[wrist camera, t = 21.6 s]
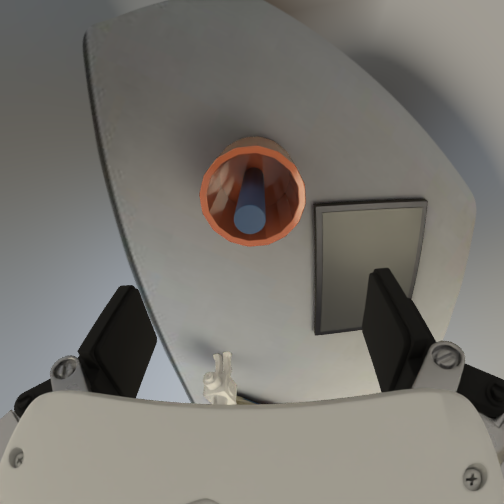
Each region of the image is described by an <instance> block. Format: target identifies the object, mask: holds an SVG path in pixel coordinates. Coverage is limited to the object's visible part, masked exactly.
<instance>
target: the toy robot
mask: <svg viewBox="0 0 504 504" xmlns="http://www.w3.org/2000/svg"><path fill="white" fill-rule="evenodd" d="M231 356H232V354H231V353H230V352H223V359H222V356H221V355H220V354H214V355H213V358H214V360H215V361H216V363H215V364H216V369H215V372H208V373H206V374H205V375H204V378H203V383H204V384H205V387H204V392H203V396H204V397H205V398H206V399H207V400H208V401H209V402H210V403H211V404H218V405H236V404H237V403H236V394H237V384H236V383H235V382H234V381H233V380H232V378H231V377H230V376H231V372H232V367H231ZM223 367H224V371H223Z"/></svg>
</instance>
